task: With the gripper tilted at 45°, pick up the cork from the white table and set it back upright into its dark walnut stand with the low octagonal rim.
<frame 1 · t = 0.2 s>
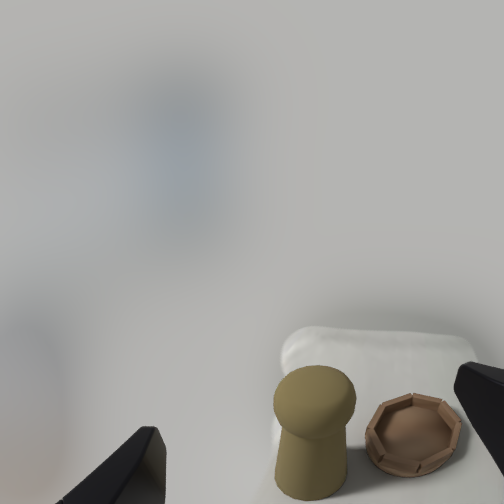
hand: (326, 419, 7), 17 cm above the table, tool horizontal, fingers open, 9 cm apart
cork: (310, 473, 19), on the table
walnut stand: (411, 439, 20), on the table
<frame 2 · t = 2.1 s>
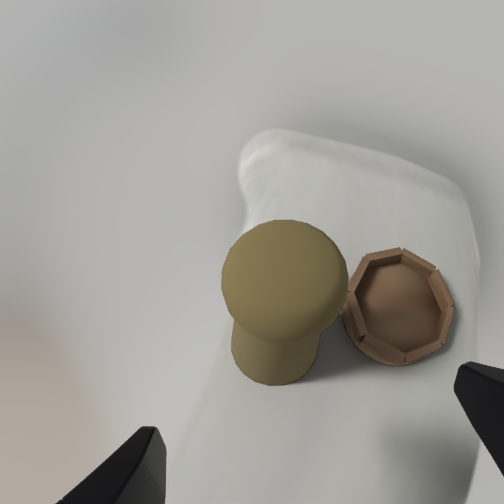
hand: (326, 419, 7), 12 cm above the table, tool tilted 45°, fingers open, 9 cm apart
cork: (274, 344, 20), on the table
walnut stand: (394, 310, 21), on the table
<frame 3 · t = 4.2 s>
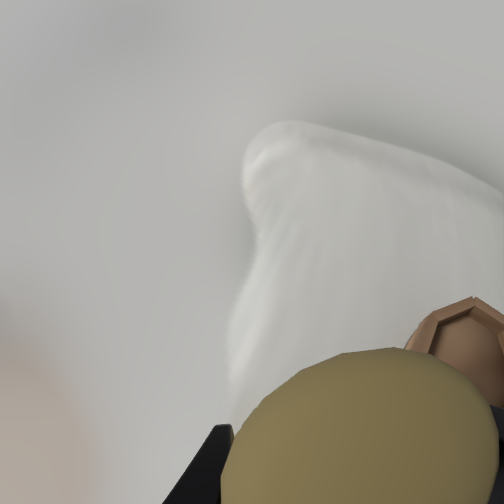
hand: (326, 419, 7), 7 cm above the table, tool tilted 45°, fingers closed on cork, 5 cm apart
cork: (300, 448, 12), on the table, touching gripper
walnut stand: (459, 382, 12), on the table
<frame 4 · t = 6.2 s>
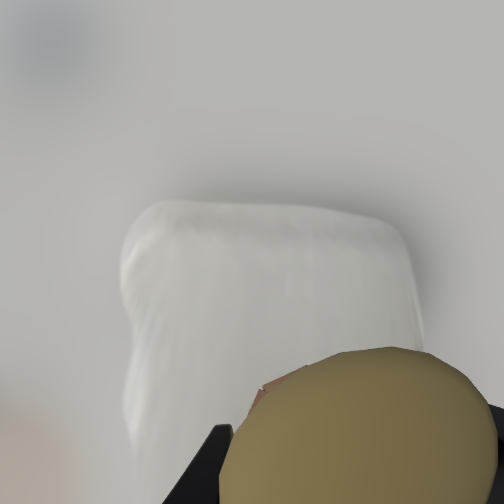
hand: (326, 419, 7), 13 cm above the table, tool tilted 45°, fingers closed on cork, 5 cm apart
cork: (299, 447, 12), point 7 cm above the table, touching gripper
walnut stand: (309, 430, 18), on the table
when the fingers open (8 cm above the table, at t = 8.3 s): cork stays where it is, resting on walnut stand.
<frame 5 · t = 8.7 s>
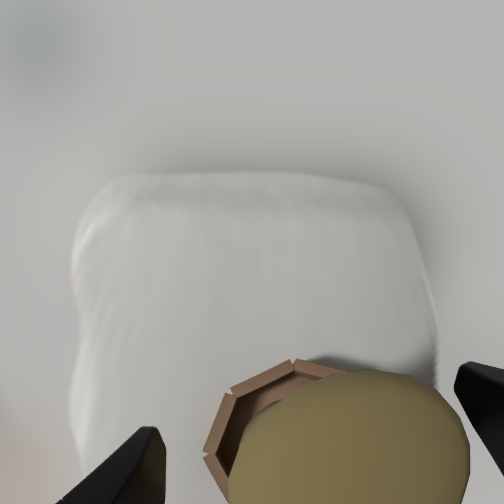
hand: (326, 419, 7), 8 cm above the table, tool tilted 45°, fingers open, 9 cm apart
cork: (298, 450, 12), point 1 cm above the table, touching walnut stand
walnut stand: (296, 445, 13), on the table
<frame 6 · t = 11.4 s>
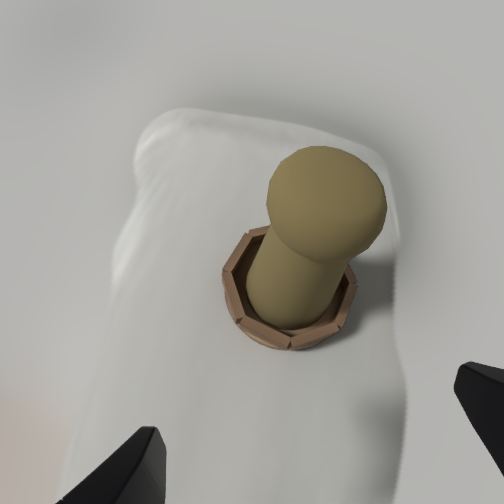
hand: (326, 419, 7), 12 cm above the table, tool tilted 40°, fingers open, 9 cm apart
cork: (288, 289, 21), point 1 cm above the table, touching walnut stand
walnut stand: (287, 289, 21), on the table
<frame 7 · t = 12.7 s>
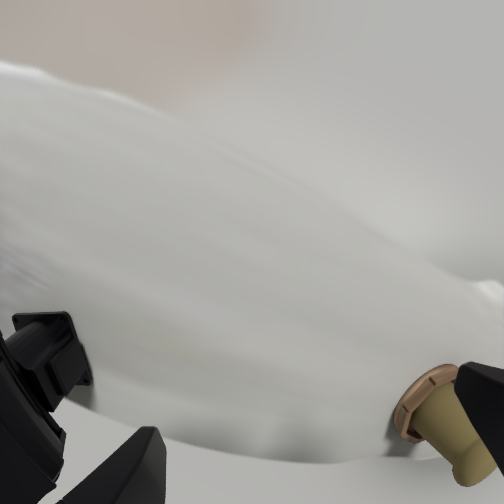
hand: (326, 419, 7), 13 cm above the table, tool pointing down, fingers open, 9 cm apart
cork: (431, 403, 23), point 1 cm above the table, touching walnut stand
walnut stand: (429, 400, 23), on the table
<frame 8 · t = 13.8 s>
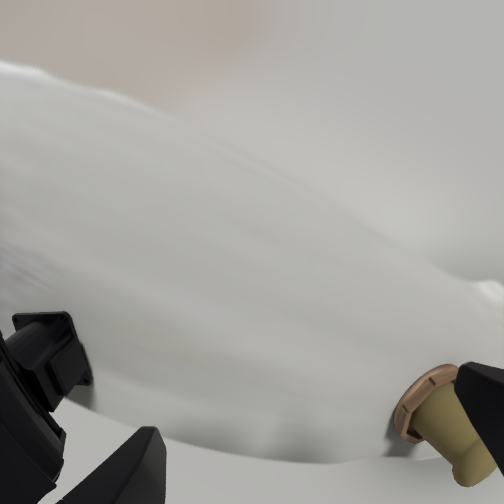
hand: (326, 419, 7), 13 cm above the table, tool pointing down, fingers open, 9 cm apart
cork: (431, 403, 23), point 1 cm above the table, touching walnut stand
walnut stand: (429, 400, 23), on the table
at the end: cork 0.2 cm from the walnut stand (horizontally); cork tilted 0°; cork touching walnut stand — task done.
